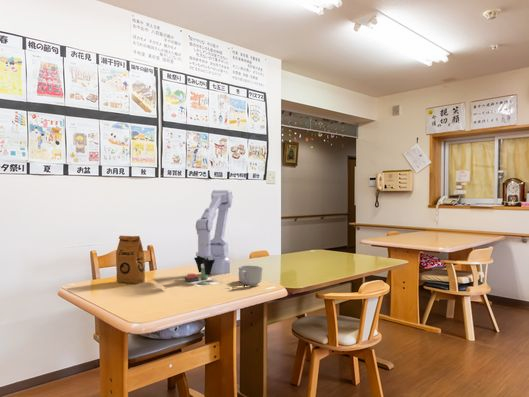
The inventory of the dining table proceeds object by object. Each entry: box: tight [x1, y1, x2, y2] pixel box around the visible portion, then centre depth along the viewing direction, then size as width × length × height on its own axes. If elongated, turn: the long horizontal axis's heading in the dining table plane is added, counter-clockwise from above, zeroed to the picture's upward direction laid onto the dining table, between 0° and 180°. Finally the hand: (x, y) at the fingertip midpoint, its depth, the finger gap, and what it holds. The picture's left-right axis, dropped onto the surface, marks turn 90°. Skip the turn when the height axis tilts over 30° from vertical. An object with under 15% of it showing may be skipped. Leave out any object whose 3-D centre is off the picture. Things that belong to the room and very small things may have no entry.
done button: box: [186, 272, 197, 279], centre depth 178 cm, size 3×3×2 cm
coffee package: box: [115, 235, 146, 285], centre depth 182 cm, size 10×12×22 cm
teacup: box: [238, 264, 264, 287], centre depth 175 cm, size 14×11×8 cm
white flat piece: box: [184, 276, 223, 287], centre depth 177 cm, size 13×15×3 cm
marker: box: [200, 264, 209, 280], centre depth 182 cm, size 3×3×7 cm
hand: (204, 273), depth 182 cm, fingers open, 7 cm apart
